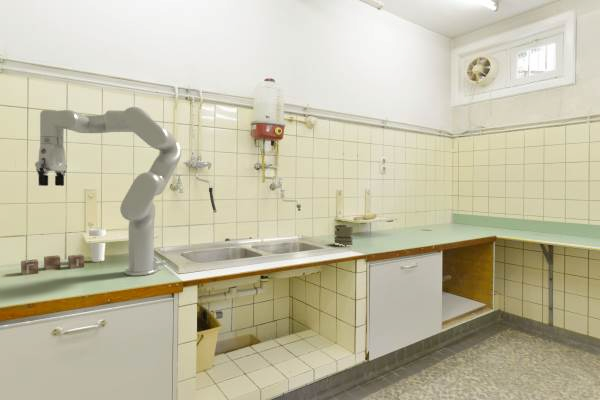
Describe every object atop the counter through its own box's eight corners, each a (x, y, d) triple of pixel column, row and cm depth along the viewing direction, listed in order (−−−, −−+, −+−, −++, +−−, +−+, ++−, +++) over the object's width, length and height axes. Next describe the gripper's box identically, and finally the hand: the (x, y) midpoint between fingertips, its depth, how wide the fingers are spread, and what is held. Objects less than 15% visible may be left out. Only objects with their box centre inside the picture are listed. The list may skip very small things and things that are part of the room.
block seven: (36, 271, 143) (36, 259, 142) (38, 273, 139) (38, 261, 139) (21, 273, 139) (20, 260, 139) (22, 275, 136) (22, 262, 135)
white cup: (86, 262, 159) (85, 230, 158) (94, 259, 165) (94, 228, 165) (101, 262, 159) (101, 230, 158) (108, 259, 166) (108, 228, 165)
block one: (81, 265, 154) (81, 254, 153) (84, 267, 150) (84, 255, 150) (68, 267, 150) (68, 255, 150) (70, 269, 147) (70, 257, 146)
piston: (343, 227, 208) (330, 225, 217) (342, 247, 209) (330, 244, 218) (356, 226, 215) (344, 224, 224) (356, 245, 215) (343, 242, 224)
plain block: (58, 266, 151) (58, 255, 151) (60, 268, 147) (60, 257, 147) (44, 268, 148) (44, 256, 147) (46, 270, 144) (45, 258, 144)
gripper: (47, 139, 128) (47, 186, 129) (74, 145, 145) (74, 185, 146) (26, 139, 128) (26, 185, 128) (56, 144, 145) (55, 185, 146)
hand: (51, 185), depth 137 cm, fingers open, 9 cm apart
